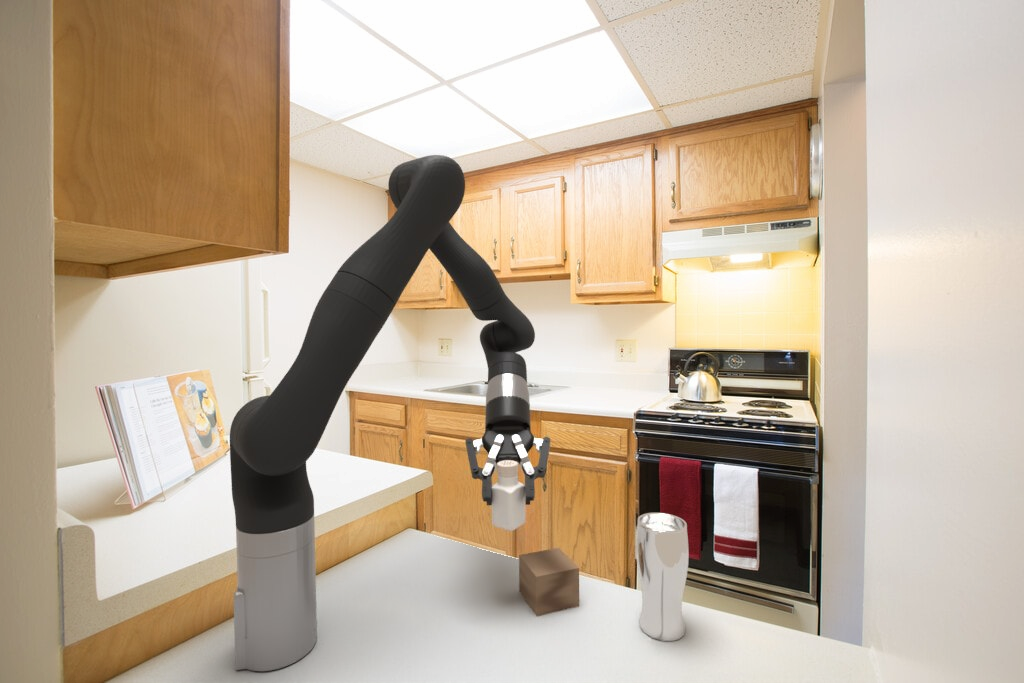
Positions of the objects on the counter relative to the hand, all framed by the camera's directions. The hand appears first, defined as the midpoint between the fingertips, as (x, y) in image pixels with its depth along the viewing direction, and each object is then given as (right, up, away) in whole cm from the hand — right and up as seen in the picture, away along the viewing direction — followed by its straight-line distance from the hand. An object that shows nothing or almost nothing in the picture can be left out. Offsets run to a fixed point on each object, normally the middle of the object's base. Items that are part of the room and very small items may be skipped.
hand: (508, 502), depth 70 cm
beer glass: (+21, -16, -3) cm, 27 cm away
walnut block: (+6, -16, +4) cm, 18 cm away
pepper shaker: (0, -4, +2) cm, 5 cm away
